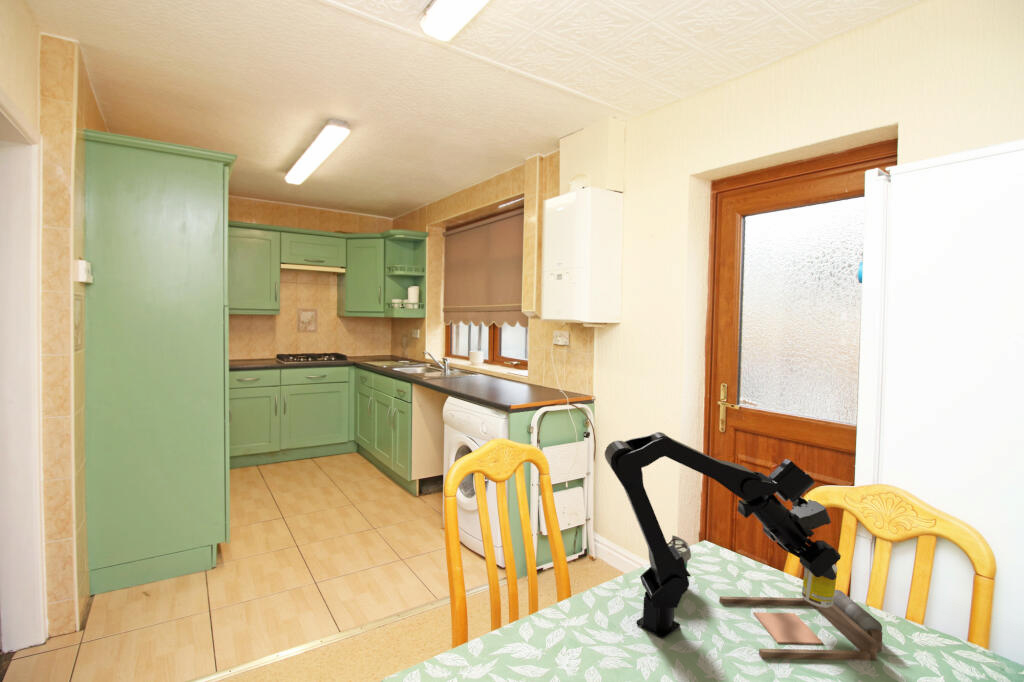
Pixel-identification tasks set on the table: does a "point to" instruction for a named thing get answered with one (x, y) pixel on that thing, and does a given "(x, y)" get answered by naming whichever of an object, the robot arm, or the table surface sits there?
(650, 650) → the table surface
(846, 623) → the frame
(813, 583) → the supplement bottle
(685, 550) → the food container
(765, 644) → the table surface
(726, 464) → the robot arm
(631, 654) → the table surface
